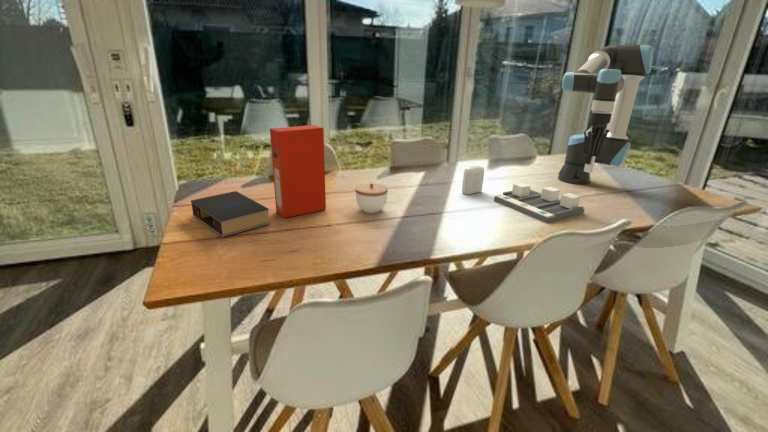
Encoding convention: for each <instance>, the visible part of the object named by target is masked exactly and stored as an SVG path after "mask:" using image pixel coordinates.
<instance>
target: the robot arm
mask: <svg viewBox="0 0 768 432" xmlns="http://www.w3.org/2000/svg"><path fill="white" fill-rule="evenodd" d="M653 57H654V49H653V46H651V45H648V44H610V45H607V46H604V47H602V48H599V49H597V50H596V51H594V52H593V53H591V54H590V56H589V57H588V58H587V61H586V62H585V63H584V64H583V65H582V66H580V67H579V68H578V70H576V71H575V72H574V71H567V72H565V73H564V75H563V77H562V81H561V88H562V91H564V92H569V93H570V92H571V93H572V92H573V93H586V94H587V93H588V94H593V98H592V101H591V107H590V112H589V115H588V122H590V125H589V126H588V130H583V133H582V134H573V135H571V136H570V137H569V139H568V143H567V148H566V154H565V157H564V163H563V165H562V166H561V169H560V170H559V172H558V174H557V179H558V180H560V181H562V182H565V183H569V184H574V185H575V184H576V185H580V184H581V185H585V184H589V183H590V182H591V173H593V170H594V166H595V164H600V165H607V166H611V167H612V166H613V167H620V166H621V165H622V164H623V163H624V162H625V160H626V158H627V155H628V154H629V153H628V152H629V150H630V148H631V143H630V142H629V137H628V136H627V131H628V128H629V123H630V120H631V116H632V113H633V108H634V105H635V101H636V97H637V94H638V93H637V92H638V89H639V86H640V82H641V81H643V79H646V74H647V75H648V74H650V73H651V70H652V67H653V60H654V59H653Z"/></svg>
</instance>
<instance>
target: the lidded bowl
mask: <svg viewBox="0 0 768 432" xmlns="http://www.w3.org/2000/svg"><path fill="white" fill-rule="evenodd" d="M354 190H355V200H356V205H358V207H359V208H360V209H361V210H362V211H363V212H364V213H367V214H374V213H375V214H376V213H379V212H380V211H381V210H382V209H383V208H384V207H385V205H386V202H387V198H388V190H389V189H388V187H387V186H386V185H384V184H381V183H377V182H376V183H374V182H369V183H361V184H358V185H357V186H355V188H354Z"/></svg>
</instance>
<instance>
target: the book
mask: <svg viewBox="0 0 768 432" xmlns="http://www.w3.org/2000/svg"><path fill="white" fill-rule="evenodd" d="M190 203H191V208H192V209H191V210H192V216H193V217H195V218H196V219H197V220H199V222H201V223H203V224H204V225H205V226H207V227H208V228H209V229H210V230H212V231H213V232H215V233H217V235H219V236H220V237H222V238H224V237H228V236H232V235H236V234H238V233H242V232H243V233H244V232H245V231H248V230H250V231H251V230H252V229H256V228H260V227H263V226H267V225H271V222H270V218H269V217H270V216H269V210H270V209H269V207H266V206H265V205H262V204H261V203H259V202H257V201H255V200H253V199H252V198H249V197H248V196H246V195H244V194H242V193H241V192H239V191H237V190H235V191H231V192H226V193H220V194H219V193H218V194H216V195H215V194H214V195H211V196H205V197H201V198H196V199H191V200H190Z"/></svg>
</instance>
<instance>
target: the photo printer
mask: <svg viewBox="0 0 768 432" xmlns="http://www.w3.org/2000/svg"><path fill="white" fill-rule="evenodd" d="M484 175H485V168H484V167H483V166H481V165H470V166H468V167H467V168H465V169H464V170H463V179H462V185H461V186H462V187H461V192H462V194H463V195H471V194H476V193H481V192H482V191H483V184H484Z"/></svg>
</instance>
